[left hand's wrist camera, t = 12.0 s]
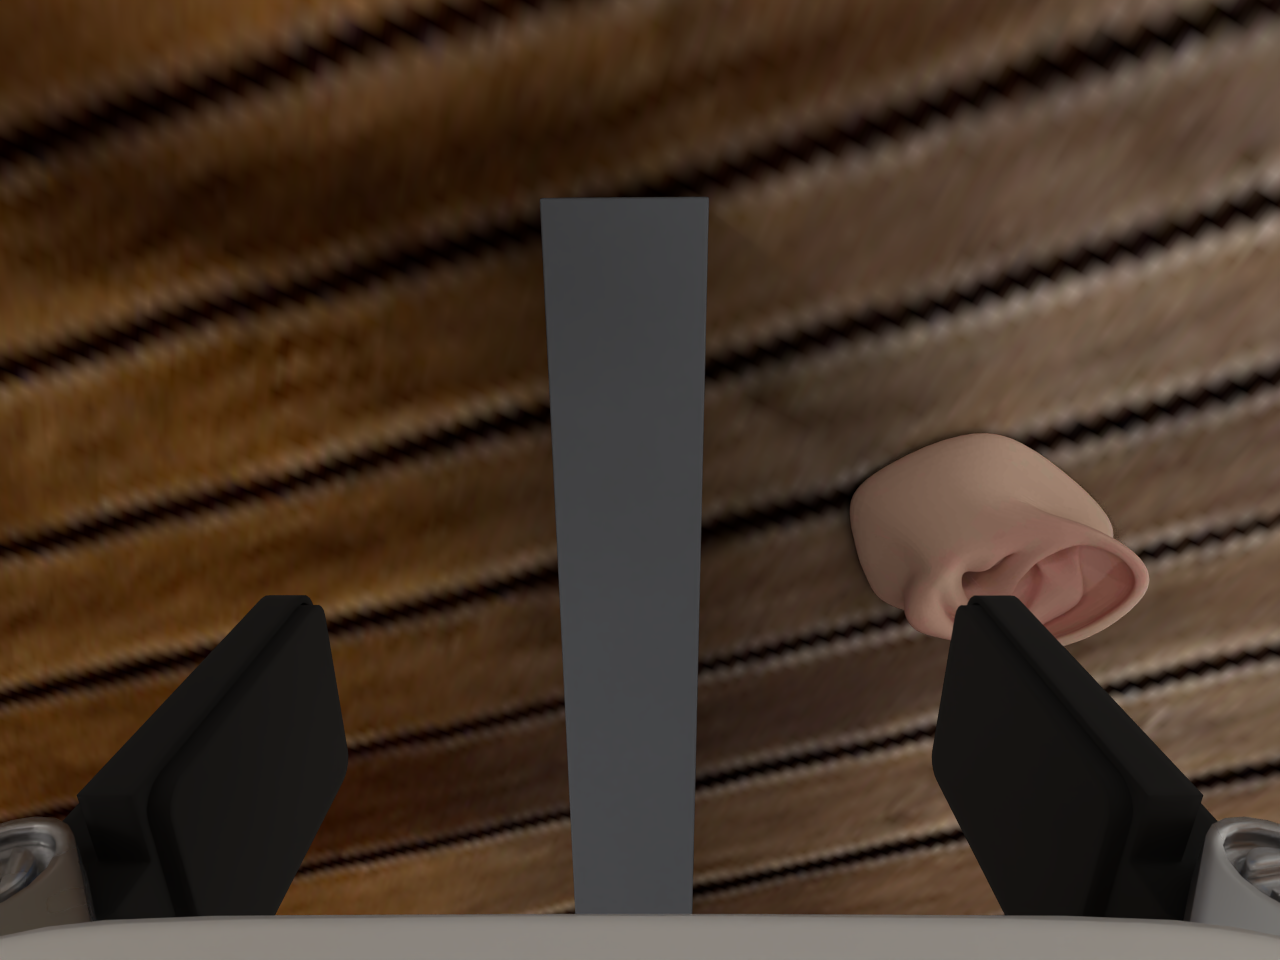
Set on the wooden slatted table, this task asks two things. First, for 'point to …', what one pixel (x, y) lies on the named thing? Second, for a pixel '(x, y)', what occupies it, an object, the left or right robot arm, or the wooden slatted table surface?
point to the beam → (628, 533)
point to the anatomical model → (991, 538)
